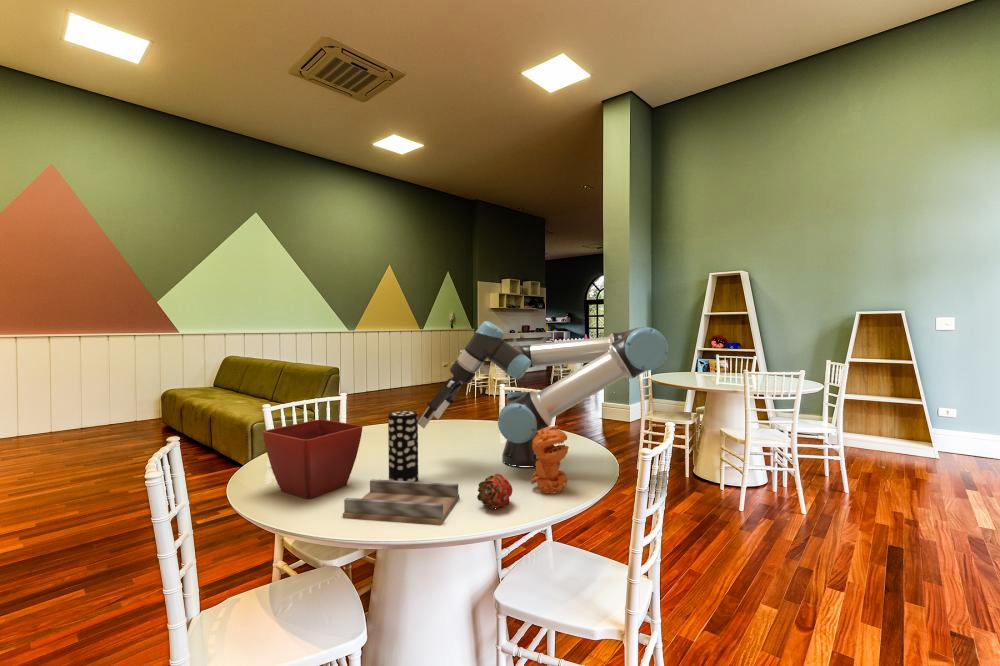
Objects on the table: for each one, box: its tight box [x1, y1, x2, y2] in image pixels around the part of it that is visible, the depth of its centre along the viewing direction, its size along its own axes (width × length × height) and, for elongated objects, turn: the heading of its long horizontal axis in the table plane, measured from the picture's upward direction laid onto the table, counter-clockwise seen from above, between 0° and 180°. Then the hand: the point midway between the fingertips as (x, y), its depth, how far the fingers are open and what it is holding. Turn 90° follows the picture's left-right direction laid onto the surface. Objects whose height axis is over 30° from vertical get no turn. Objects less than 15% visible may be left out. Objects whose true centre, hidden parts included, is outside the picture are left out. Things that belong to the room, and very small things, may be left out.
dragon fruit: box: [476, 473, 513, 510], centre depth 113 cm, size 8×8×12 cm
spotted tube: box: [387, 410, 419, 482], centre depth 130 cm, size 8×8×20 cm
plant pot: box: [262, 418, 364, 499], centre depth 126 cm, size 19×19×17 cm
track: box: [342, 478, 460, 526], centre depth 112 cm, size 24×16×4 cm, turn 80°
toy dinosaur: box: [529, 424, 570, 494], centre depth 124 cm, size 11×11×18 cm
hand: (428, 420), depth 142 cm, fingers open, 13 cm apart
